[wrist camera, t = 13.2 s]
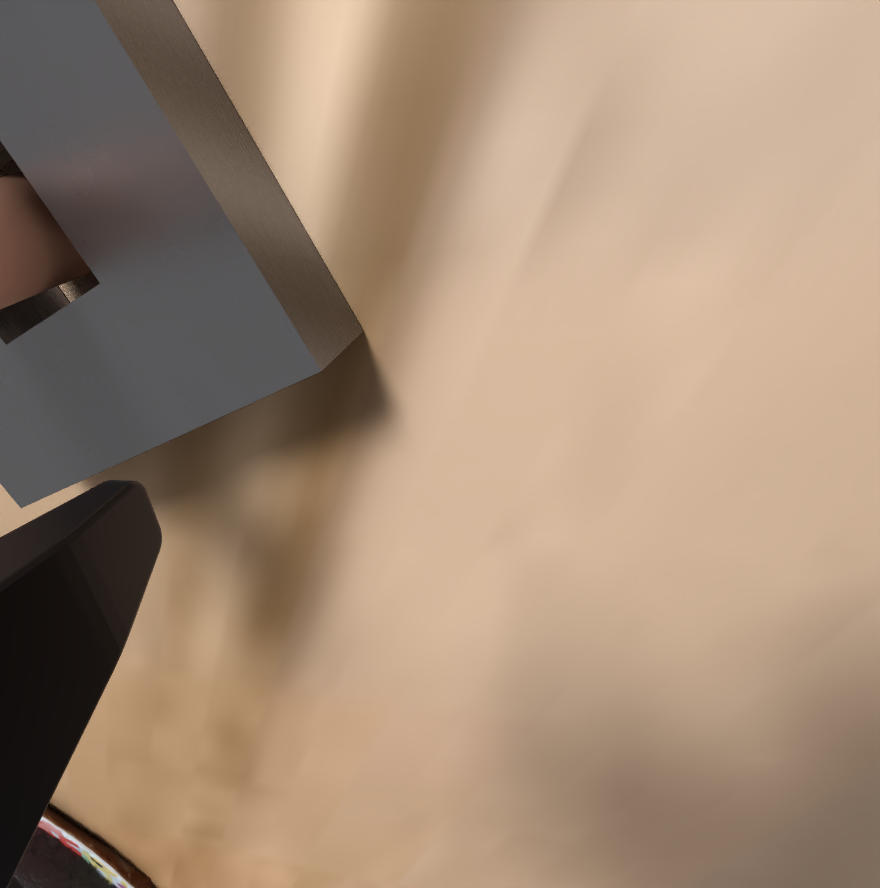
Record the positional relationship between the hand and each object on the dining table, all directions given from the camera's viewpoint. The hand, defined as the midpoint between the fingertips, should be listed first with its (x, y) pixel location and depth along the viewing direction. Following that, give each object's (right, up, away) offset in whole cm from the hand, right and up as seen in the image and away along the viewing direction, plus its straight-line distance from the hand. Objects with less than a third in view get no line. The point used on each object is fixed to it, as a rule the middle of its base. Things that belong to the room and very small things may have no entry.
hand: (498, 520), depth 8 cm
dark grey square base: (-12, +8, +14) cm, 20 cm away
